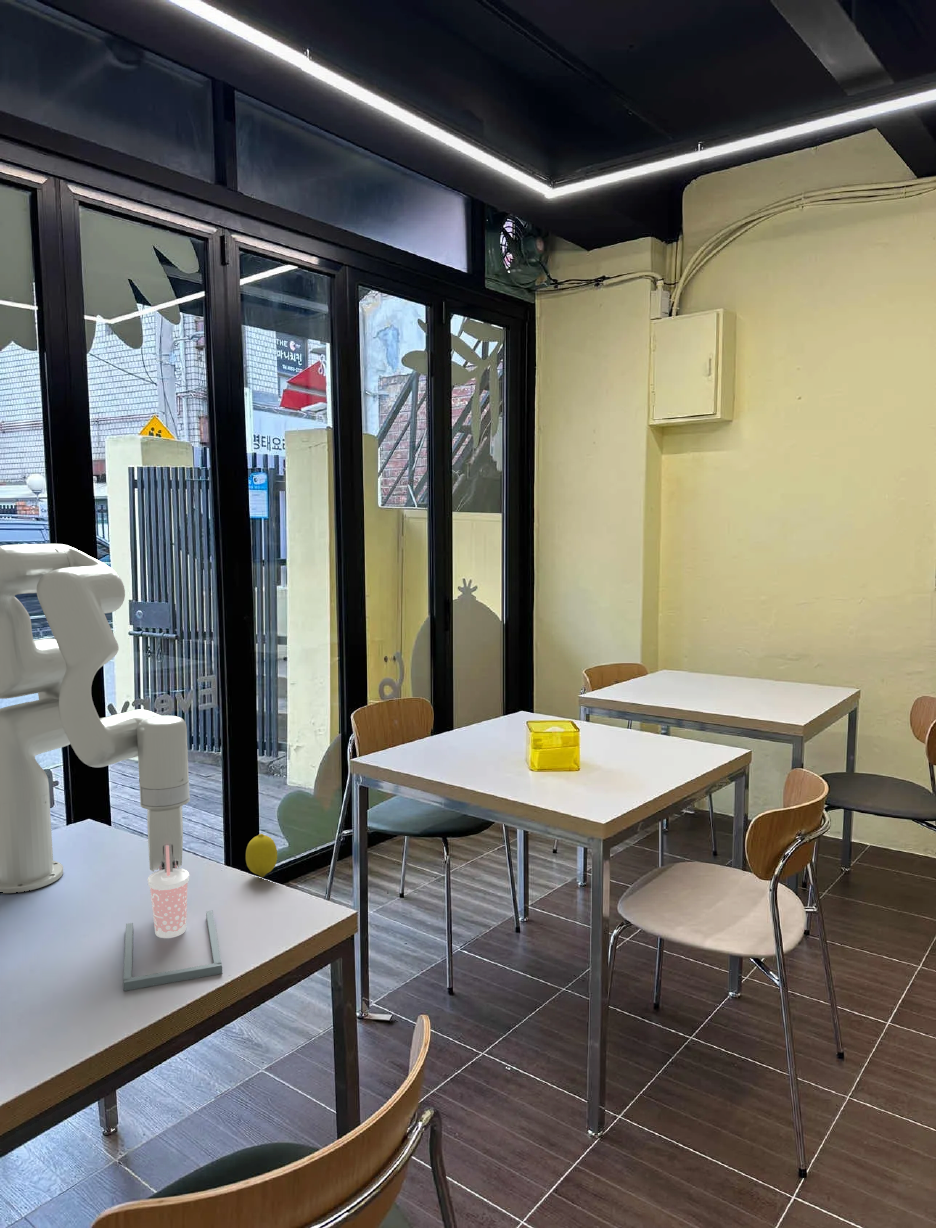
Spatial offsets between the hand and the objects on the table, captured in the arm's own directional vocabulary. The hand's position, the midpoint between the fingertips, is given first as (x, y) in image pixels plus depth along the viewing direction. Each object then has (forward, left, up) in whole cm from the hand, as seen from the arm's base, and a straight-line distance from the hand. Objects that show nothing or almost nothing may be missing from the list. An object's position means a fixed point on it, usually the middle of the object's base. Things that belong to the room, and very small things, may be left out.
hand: (169, 902), depth 140 cm
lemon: (-10, +16, -2) cm, 19 cm away
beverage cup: (+6, 0, -2) cm, 6 cm away
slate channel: (+13, 0, -2) cm, 13 cm away
